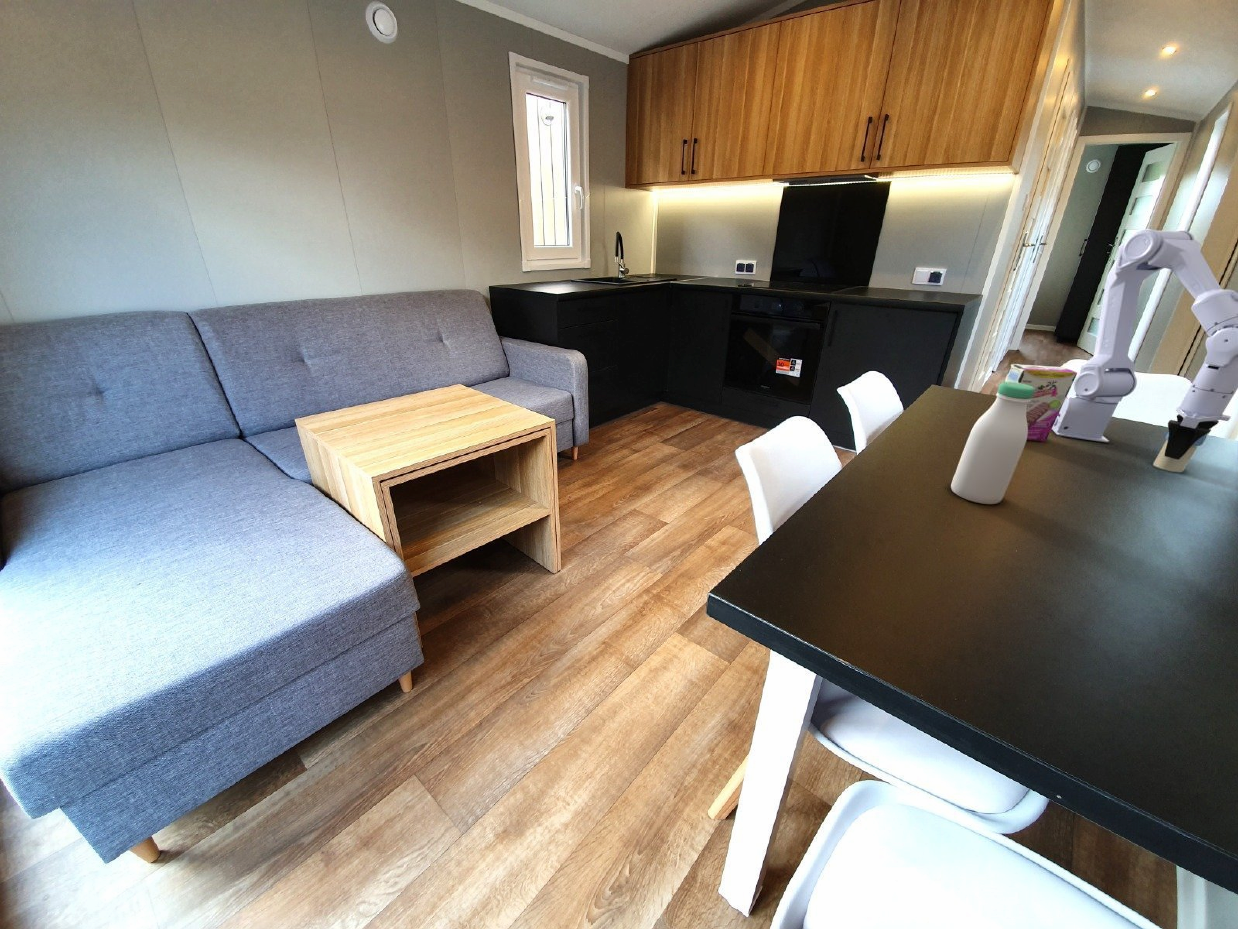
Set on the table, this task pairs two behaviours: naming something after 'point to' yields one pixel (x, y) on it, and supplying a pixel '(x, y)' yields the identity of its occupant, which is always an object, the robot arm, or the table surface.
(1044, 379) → the candy bar box
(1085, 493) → the table surface
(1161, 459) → the jam jar
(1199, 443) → the jam lid
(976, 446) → the milk bottle
